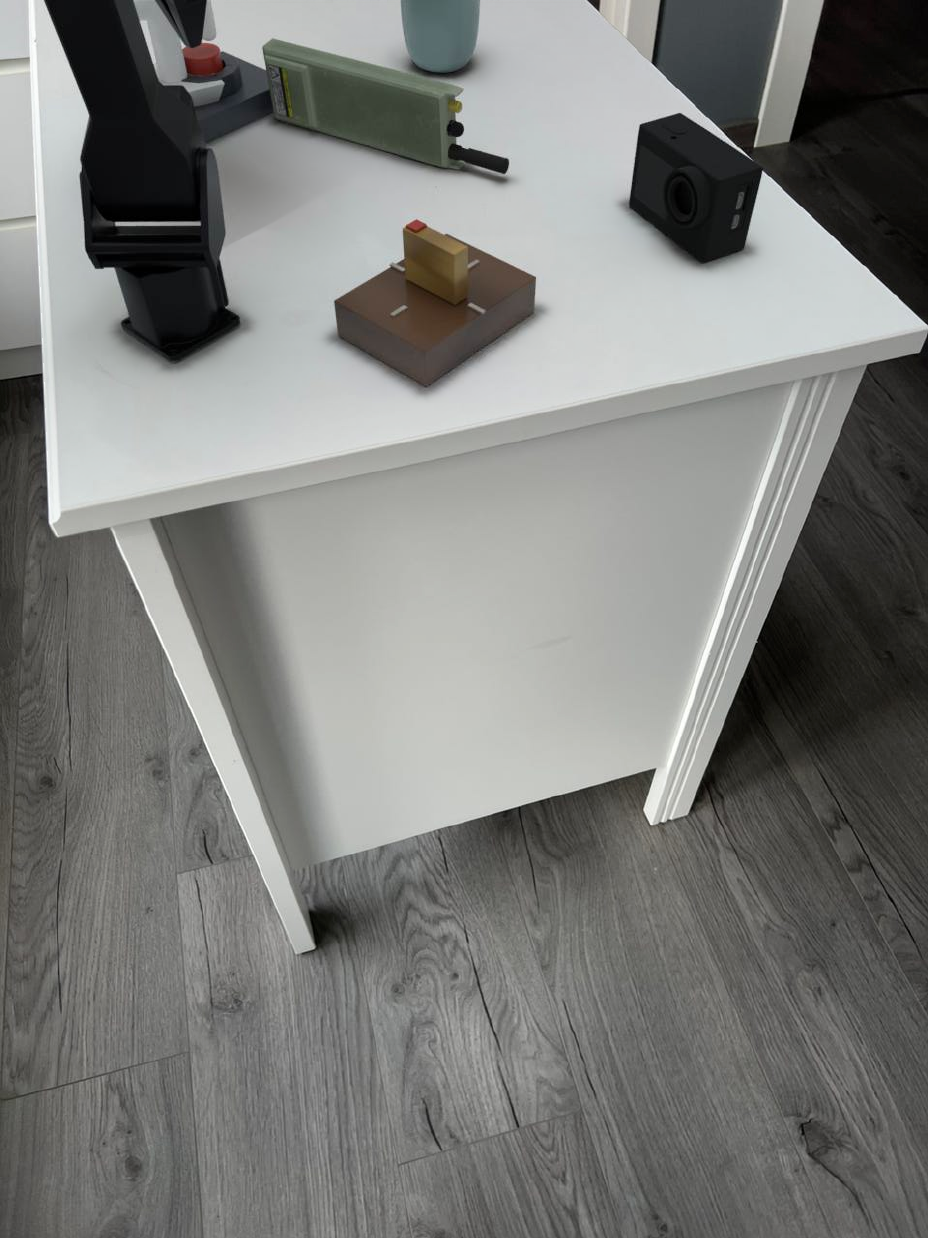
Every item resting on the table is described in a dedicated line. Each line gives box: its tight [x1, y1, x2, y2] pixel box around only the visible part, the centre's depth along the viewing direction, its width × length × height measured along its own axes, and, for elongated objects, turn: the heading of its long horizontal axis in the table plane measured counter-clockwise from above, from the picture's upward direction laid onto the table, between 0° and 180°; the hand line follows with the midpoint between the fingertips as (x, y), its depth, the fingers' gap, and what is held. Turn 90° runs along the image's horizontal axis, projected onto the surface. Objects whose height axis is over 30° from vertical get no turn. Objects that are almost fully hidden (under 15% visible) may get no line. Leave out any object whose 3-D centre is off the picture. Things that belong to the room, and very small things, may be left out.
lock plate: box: [333, 233, 537, 387], centre depth 74 cm, size 12×9×3 cm
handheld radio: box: [261, 37, 510, 175], centre depth 89 cm, size 7×3×25 cm
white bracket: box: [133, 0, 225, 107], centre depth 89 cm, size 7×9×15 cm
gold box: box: [402, 218, 468, 305], centre depth 71 cm, size 5×1×4 cm, turn 47°
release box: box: [181, 50, 274, 144], centre depth 95 cm, size 12×10×4 cm
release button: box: [182, 42, 223, 76], centre depth 93 cm, size 4×4×2 cm
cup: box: [400, 0, 481, 74], centre depth 99 cm, size 8×8×10 cm
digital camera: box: [628, 112, 764, 264], centre depth 80 cm, size 10×5×7 cm, turn 29°
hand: (193, 45), depth 78 cm, fingers closed
